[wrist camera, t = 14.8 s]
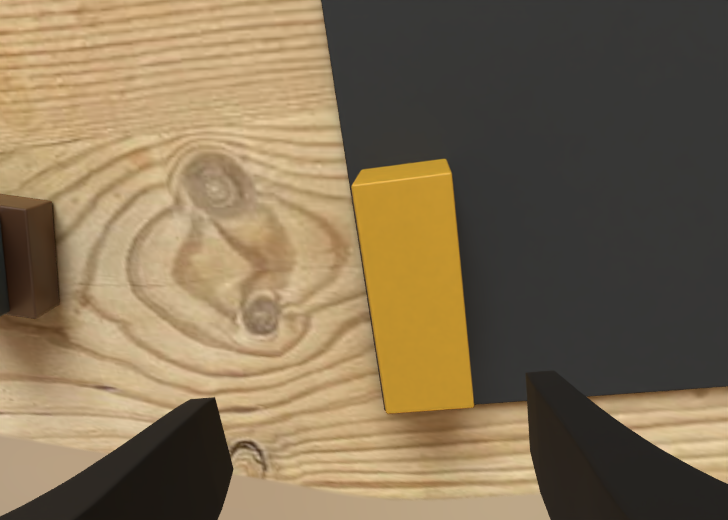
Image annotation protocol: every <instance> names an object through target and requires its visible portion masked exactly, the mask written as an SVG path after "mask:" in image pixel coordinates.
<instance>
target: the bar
mask: <svg viewBox="0 0 728 520" xmlns="http://www.w3.org/2000/svg"><path fill="white" fill-rule="evenodd" d="M351 188H352V195H353V201H354V208H355V214H356V221H357V227H358V234H359V240H360V247H361V253H362V260H363V266H364V273H365V279H366V286H367V292H368V299H369V305H370V312H371V318H372V325H373V331H374V338H375V344H376V351H377V357H378V364H379V370H380V377H381V383H382V390H383V396H384V403H385V409H386V413H387V414H393V413H407V412H421V411H435V410H449V409H463V408H473V407H474V398H473V387H472V377H471V367H470V356H469V346H468V335H467V325H466V314H465V304H464V294H463V283H462V273H461V262H460V252H459V241H458V231H457V221H456V210H455V200H454V189H453V179H452V173H451V170H450V168H449V165H448V162H447V160H446V159H438V160H431V161H423V162H416V163H408V164H401V165H393V166H386V167H378V168H371V169H363V170H361V171H360V173H359V175H358V176H357V178H356V179H355V181H354V183H353V184H352V187H351Z"/></svg>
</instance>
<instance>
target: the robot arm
mask: <svg viewBox="0 0 728 520" xmlns="http://www.w3.org/2000/svg"><path fill="white" fill-rule="evenodd" d="M526 390H527V406H528V423H529V440H530V452H531V456H532V461H533V465H534V469H535V473H536V477H537V481H538V485H539V489H540V492H541V495H542V498H543V501H544V503H545V506H546V509H547V511H548V514H549V517H550V519H551V520H728V484H726V483H724V482H722V481H720V480H718V479H716V478H714V477H712V476H710V475H708V474H706V473H704V472H702V471H700V470H698V469H696V468H694V467H692V466H690V465H688V464H687V463H685V462H683V461H681V460H679V459H678V458H676V457H674V456H672V455H670V454H668V453H667V452H665V451H663V450H662V449H660V448H658V447H657V446H655V445H653V444H652V443H650V442H649V441H647V440H645V439H644V438H642V437H641V436H639V435H638V434H636V433H635V432H633V431H632V430H630V429H629V428H627V427H626V426H624V425H623V424H622V423H620V422H619V421H617V420H616V419H615V418H613V417H612V416H610V415H609V414H608V413H606V412H605V411H604V410H602V409H601V408H600V407H598V406H597V405H596V404H595V403H593V402H592V401H591V400H590V399H588V398H587V397H586V396H585V395H583V394H582V393H581V392H580V391H579V390H577V389H576V388H575V387H574V386H572V385H571V384H570V383H569V382H568V381H566V380H565V379H564V378H563V377H562V376H560V375H559V374H558V373H557V372H555V371H554V370H553V371H540V372H527V373H526ZM232 473H233V465H232V461H231V458H230V454H229V450H228V446H227V442H226V438H225V434H224V431H223V427H222V423H221V419H220V415H219V411H218V407H217V404H216V400H215V397H213V398H201V399H190V400H189V401H187V402H185V403H183V404H181V405H180V406H178V407H177V408H175V409H174V410H172V411H171V412H169V413H168V414H166V415H165V416H163V417H162V418H160V419H159V420H157V421H156V422H155V423H153V424H152V425H150V426H149V427H147V428H146V429H145V430H143V431H142V432H140V433H139V434H137V435H136V436H135V437H133V438H132V439H130V440H129V441H127V442H126V443H125V444H123V445H122V446H120V447H119V448H117V449H116V450H114V451H113V452H111V453H110V454H108V455H107V456H105V457H103V458H102V459H101V460H99V461H97V462H96V463H94V464H93V465H91V466H90V467H88V468H87V469H85V470H84V471H82V472H81V473H79V474H77V475H76V476H75V477H72V478H71V479H69V480H68V481H66V482H64V483H62V484H61V485H59V486H57V487H56V488H54V489H52V490H50V491H48V492H47V493H45V494H43V495H41V496H39V497H38V498H36V499H34V500H32V501H31V502H29V503H27V504H25V505H23V506H21V507H19V508H17V509H15V510H13V511H11V512H9V513H6V514H5V515H2V516H0V520H218V517H219V515H220V512H221V510H222V507H223V504H224V501H225V498H226V494H227V491H228V487H229V484H230V480H231V476H232Z"/></svg>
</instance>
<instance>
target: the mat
mask: <svg viewBox="0 0 728 520" xmlns="http://www.w3.org/2000/svg"><path fill="white" fill-rule="evenodd" d="M321 2H322V9H323V15H324V22H325V28H326V35H327V41H328V48H329V54H330V61H331V67H332V73H333V80H334V86H335V93H336V99H337V106H338V112H339V119H340V125H341V132H342V138H343V145H344V151H345V158H346V164H347V171H348V177H349V183H350V190H351V196H352V203H353V209H354V216H355V222H356V229H357V235H358V242H359V248H360V255H361V261H362V268H363V274H364V281H365V287H366V293H367V300H368V306H369V313H370V319H371V326H372V332H373V339H374V345H375V352H376V358H377V365H378V371H379V378H380V384H381V391H382V397H383V403H384V396H383V390H382V383H381V377H380V370H379V364H378V357H377V351H376V344H375V338H374V331H373V325H372V318H371V312H370V305H369V299H368V292H367V286H366V279H365V273H364V266H363V260H362V253H361V247H360V240H359V234H358V227H357V221H356V214H355V208H354V201H353V195H352V188H351V187H352V184H353V183H354V181H355V179H356V178H357V176H358V175H359V173H360V171H361V170H363V169H371V168H378V167H386V166H393V165H401V164H408V163H416V162H423V161H431V160H438V159H446V160H447V162H448V165H449V168H450V170H451V173H452V179H453V189H454V200H455V210H456V221H457V231H458V241H459V252H460V262H461V273H462V283H463V294H464V304H465V314H466V325H467V335H468V346H469V356H470V367H471V377H472V387H473V398H474V405H476V404H490V403H503V402H517V401H527V390H526V373H527V372H540V371H553V370H554V371H555V372H557V373H558V374H559V375H560V376H562V377H563V378H564V379H565V380H566V381H568V382H569V383H570V384H571V385H572V386H574V387H575V388H576V389H577V390H579V391H580V392H581V393H582V394H583V395H585V396H586V397H587V396H601V395H615V394H628V393H642V392H656V391H670V390H684V389H698V388H712V387H726V386H728V0H321ZM384 410H385V411H386V409H385V403H384Z"/></svg>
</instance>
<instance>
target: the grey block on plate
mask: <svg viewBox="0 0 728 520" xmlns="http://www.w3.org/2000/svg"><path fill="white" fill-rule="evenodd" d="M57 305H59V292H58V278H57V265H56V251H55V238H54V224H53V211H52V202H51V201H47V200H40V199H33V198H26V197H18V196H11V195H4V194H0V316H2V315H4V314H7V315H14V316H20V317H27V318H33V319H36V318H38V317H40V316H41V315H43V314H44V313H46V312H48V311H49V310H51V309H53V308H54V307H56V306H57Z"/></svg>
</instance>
